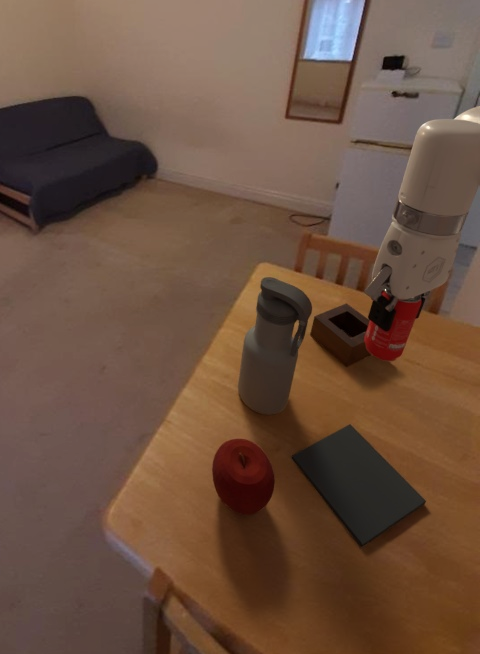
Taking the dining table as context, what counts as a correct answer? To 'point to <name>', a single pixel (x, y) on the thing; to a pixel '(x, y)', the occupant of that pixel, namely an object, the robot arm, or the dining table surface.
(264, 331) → the water bottle
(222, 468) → the apple
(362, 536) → the mat
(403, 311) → the beverage can
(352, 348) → the holder
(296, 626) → the dining table surface
